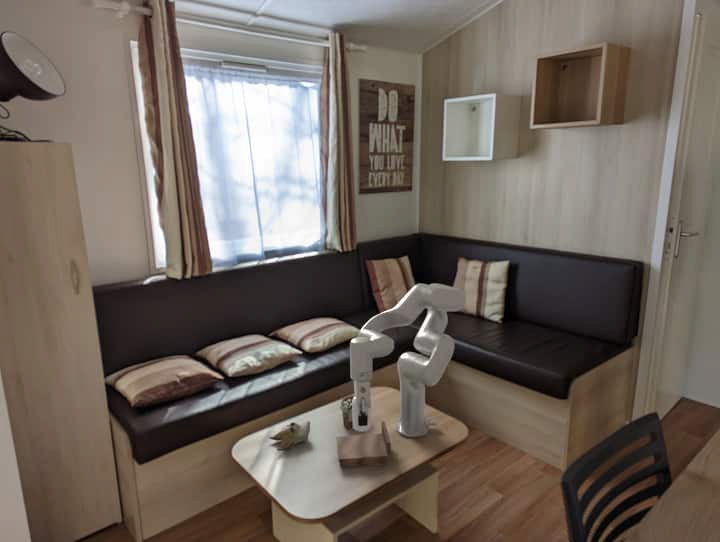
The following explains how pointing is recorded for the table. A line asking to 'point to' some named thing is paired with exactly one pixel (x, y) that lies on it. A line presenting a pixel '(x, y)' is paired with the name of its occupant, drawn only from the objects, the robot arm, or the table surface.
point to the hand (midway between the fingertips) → (361, 419)
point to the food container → (347, 412)
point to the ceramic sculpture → (292, 435)
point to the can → (355, 417)
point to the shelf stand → (364, 449)
